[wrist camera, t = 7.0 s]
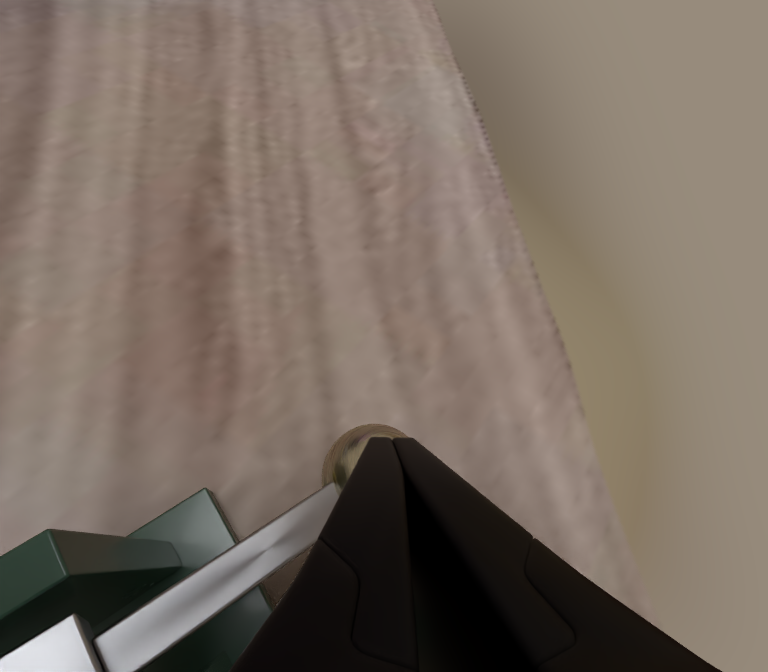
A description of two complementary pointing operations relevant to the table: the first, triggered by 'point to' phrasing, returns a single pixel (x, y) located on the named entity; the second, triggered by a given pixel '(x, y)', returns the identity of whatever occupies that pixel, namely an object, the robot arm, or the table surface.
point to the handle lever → (195, 585)
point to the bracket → (129, 583)
